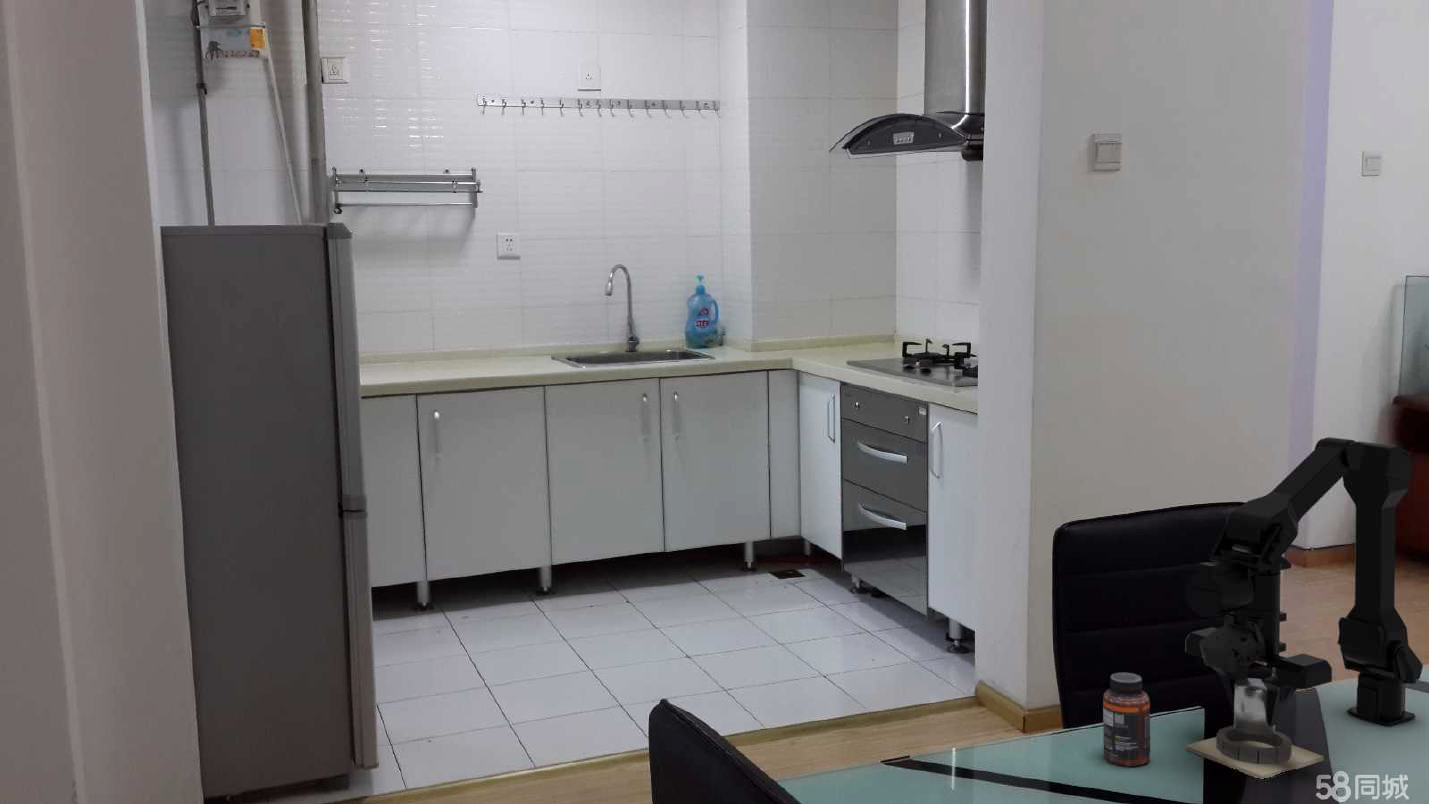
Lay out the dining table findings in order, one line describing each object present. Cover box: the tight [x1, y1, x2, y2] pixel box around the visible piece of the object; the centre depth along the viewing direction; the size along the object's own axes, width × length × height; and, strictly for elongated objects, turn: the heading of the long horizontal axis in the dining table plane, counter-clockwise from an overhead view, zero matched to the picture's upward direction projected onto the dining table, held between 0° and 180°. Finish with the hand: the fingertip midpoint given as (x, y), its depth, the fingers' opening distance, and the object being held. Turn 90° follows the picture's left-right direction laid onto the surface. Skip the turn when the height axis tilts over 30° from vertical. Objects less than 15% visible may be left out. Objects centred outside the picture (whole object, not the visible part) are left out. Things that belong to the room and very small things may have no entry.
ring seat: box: [1185, 725, 1324, 780], centre depth 166 cm, size 12×12×2 cm
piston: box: [1233, 677, 1276, 735], centre depth 166 cm, size 5×5×6 cm
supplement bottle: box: [1102, 672, 1151, 767], centre depth 166 cm, size 6×6×11 cm
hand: (1254, 719), depth 166 cm, fingers closed on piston, 5 cm apart
